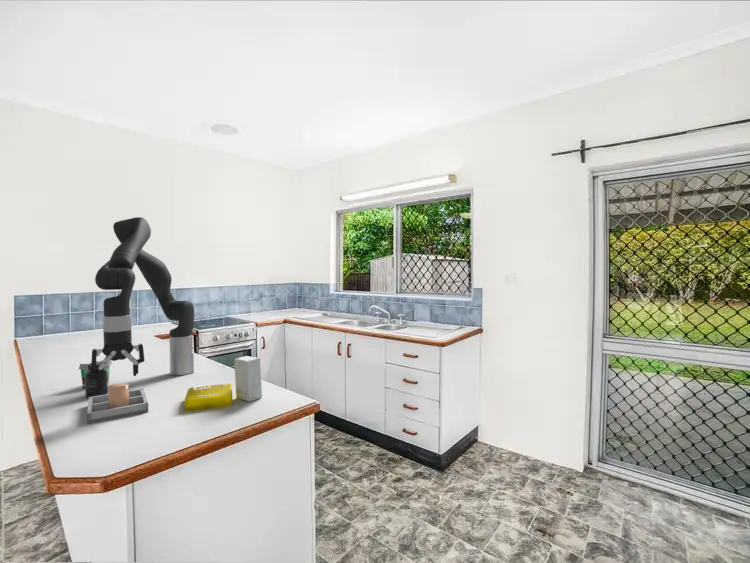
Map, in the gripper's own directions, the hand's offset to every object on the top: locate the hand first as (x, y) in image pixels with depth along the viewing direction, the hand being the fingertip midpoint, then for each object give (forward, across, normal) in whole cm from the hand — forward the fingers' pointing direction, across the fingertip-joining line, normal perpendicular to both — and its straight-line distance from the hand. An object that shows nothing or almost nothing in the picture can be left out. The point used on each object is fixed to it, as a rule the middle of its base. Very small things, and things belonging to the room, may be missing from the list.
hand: (119, 378), depth 122 cm
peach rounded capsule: (+10, 0, 0) cm, 11 cm away
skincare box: (+12, -38, +11) cm, 42 cm away
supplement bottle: (+12, +6, -26) cm, 29 cm away
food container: (+12, +5, -41) cm, 43 cm away
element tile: (+12, -26, +7) cm, 30 cm away
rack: (+12, 0, -4) cm, 12 cm away
